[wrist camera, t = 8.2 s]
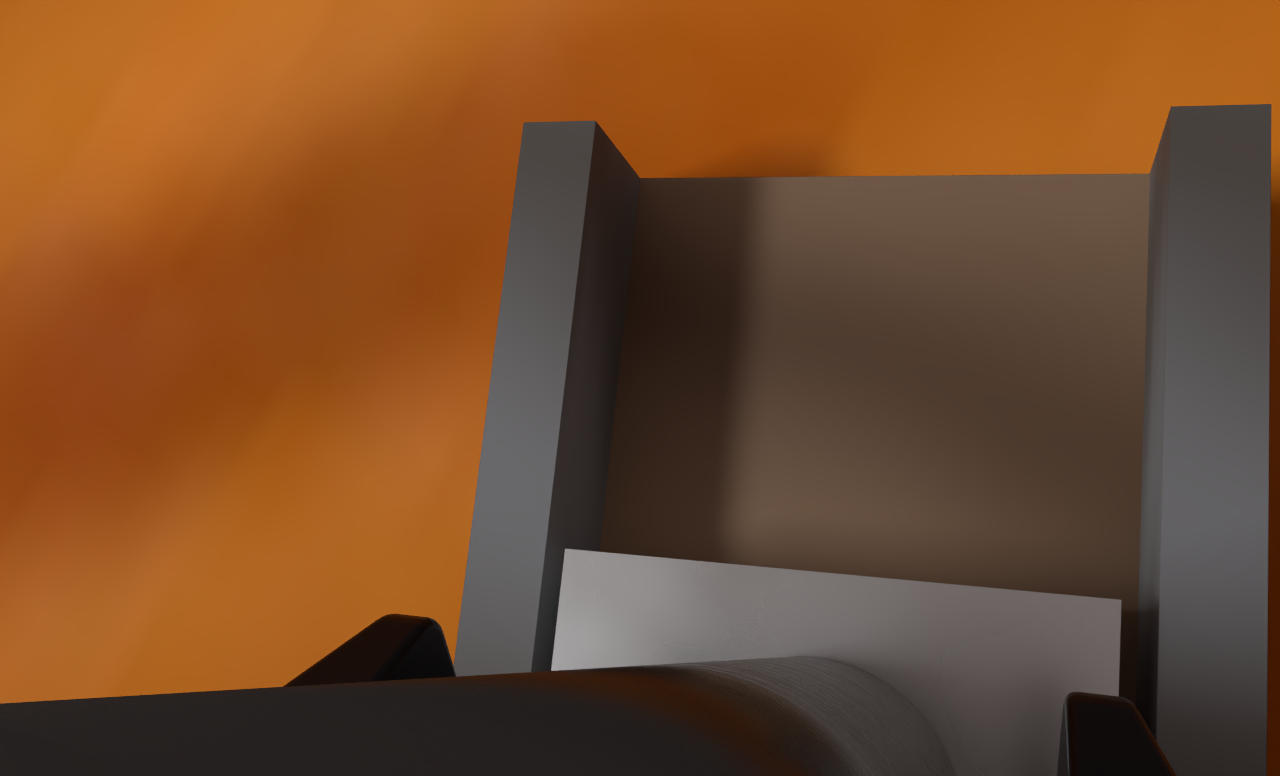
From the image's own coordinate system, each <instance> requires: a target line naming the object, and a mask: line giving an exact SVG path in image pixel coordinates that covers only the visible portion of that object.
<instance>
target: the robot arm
mask: <svg viewBox="0 0 1280 776" xmlns="http://www.w3.org/2000/svg"><path fill="white" fill-rule="evenodd" d="M441 677H456V673H455V670H454V667H453V663H452V660H451V657H450V653H449V650H448V647H447V643H446V640H445V637H444V634H443V631H442V629H441V626H440V625H439V624H438V623H437V622H436V621H435V620H434V619H431V618H428V617H419V616H410V615H402V614H389V615H386V616H383V617H381V618H380V619H378V620H376V621H375V622H374V623H372V624H371V625H369V626H368V627H366V628H365V629H364V630H362V631H361V632H359V633H358V634H357V635H355V636H354V637H352V638H351V639H349V640H348V641H347V642H345V643H344V644H342V645H341V646H340V647H338V648H337V649H335V650H334V651H333V652H331V653H330V654H328V655H327V656H325V657H324V658H323V659H321V660H320V661H318V662H317V663H316V664H314V665H313V666H311V667H310V668H308V669H307V670H306V671H304V672H303V673H301V674H300V675H299V676H297V677H296V678H294V679H293V680H292V681H290V682H289V683H287V684H286V685H284V686H283V687H290V686H307V685H324V684H340V683H357V682H374V681H391V680H408V679H424V678H441ZM1057 776H1177V775H1176V774H1175V772H1174V770H1173V769H1172V767H1171V765H1170V764H1169V762H1168V760H1167V758H1166V757H1165V755H1164V753H1163V752H1162V750H1161V748H1160V747H1159V745H1158V743H1157V741H1156V740H1155V738H1154V736H1153V735H1152V733H1151V731H1150V730H1149V728H1148V726H1147V724H1146V723H1145V721H1144V719H1143V718H1142V716H1141V714H1140V713H1139V711H1138V710H1137V708H1136V707H1135V705H1134V704H1133V703H1132V702H1131V701H1129V700H1128V699H1126V698H1124V697H1119V696H1111V695H1102V694H1093V693H1085V692H1072V693H1069V694H1068V695H1067V696H1066V697H1065V699H1064V703H1063V711H1062V722H1061V733H1060V744H1059V756H1058V767H1057Z"/></svg>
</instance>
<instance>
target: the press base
mask: <svg viewBox="0 0 1280 776" xmlns="http://www.w3.org/2000/svg"><path fill="white" fill-rule="evenodd" d="M1270 219H1271V104H1259V105H1218V106H1177V107H1171V109H1170V112H1169V115H1168V118H1167V121H1166V125H1165V128H1164V131H1163V134H1162V137H1161V140H1160V144H1159V147H1158V150H1157V153H1156V156H1155V159H1154V162H1153V166H1152V169H1151V172H1150V174H1064V175H952V176H841V177H729V178H639V176H638V175H637V174H636V172H635V171H634V170H633V168H632V167H631V166H630V165H629V163H628V162H627V161H626V159H625V158H624V157H623V156H622V154H621V153H620V152H619V150H618V149H617V148H616V147H615V145H614V144H613V143H612V141H611V140H610V139H609V137H608V136H607V135H606V134H605V132H604V131H603V130H602V128H601V127H600V126H599V125H598V123H597V122H596V121H568V122H527V123H524V125H523V133H522V140H521V148H520V156H519V164H518V171H517V179H516V187H515V195H514V202H513V210H512V218H511V226H510V233H509V241H508V249H507V257H506V264H505V272H504V280H503V288H502V295H501V303H500V311H499V319H498V326H497V334H496V342H495V350H494V358H493V365H492V373H491V381H490V389H489V396H488V404H487V412H486V420H485V427H484V435H483V443H482V451H481V458H480V466H479V474H478V482H477V489H476V497H475V505H474V513H473V520H472V528H471V536H470V544H469V551H468V559H467V567H466V575H465V582H464V590H463V598H462V606H461V613H460V621H459V629H458V637H457V644H456V652H455V660H454V670H455V673H456V677H458V676H475V675H491V674H508V673H525V672H542V671H551V667H552V658H553V650H554V641H555V632H556V623H557V615H558V606H559V597H560V588H561V580H562V571H563V562H564V553H565V549H574V550H585V551H596V552H607V553H618V554H628V555H639V556H650V557H661V558H672V559H683V560H694V561H705V562H715V563H726V564H737V565H748V566H759V567H770V568H781V569H792V570H802V571H813V572H824V573H835V574H846V575H857V576H868V577H879V578H889V579H900V580H911V581H922V582H933V583H944V584H955V585H966V586H977V587H987V588H998V589H1009V590H1020V591H1031V592H1042V593H1053V594H1064V595H1074V596H1085V597H1096V598H1107V599H1118V600H1121V631H1120V666H1119V697H1124V698H1126V699H1128V700H1129V701H1131V702H1132V703H1133V704H1134V705H1135V707H1136V708H1137V710H1138V711H1139V713H1140V714H1141V716H1142V718H1143V719H1144V721H1145V723H1146V724H1147V726H1148V728H1149V730H1150V731H1151V733H1152V735H1153V736H1154V738H1155V740H1156V741H1157V743H1158V745H1159V747H1160V748H1161V750H1162V752H1163V753H1164V755H1165V757H1166V758H1167V760H1168V762H1169V764H1170V765H1171V767H1172V769H1173V770H1174V772H1175V774H1176V775H1177V776H1267V647H1268V504H1269V362H1270Z"/></svg>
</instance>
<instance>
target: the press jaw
mask: <svg viewBox="0 0 1280 776" xmlns="http://www.w3.org/2000/svg"><path fill="white" fill-rule="evenodd" d="M1120 631H1121V600H1118V599H1107V598H1096V597H1085V596H1074V595H1064V594H1053V593H1042V592H1031V591H1020V590H1009V589H998V588H987V587H977V586H966V585H955V584H944V583H933V582H922V581H911V580H900V579H889V578H879V577H868V576H857V575H846V574H835V573H824V572H813V571H802V570H792V569H781V568H770V567H759V566H748V565H737V564H726V563H715V562H705V561H694V560H683V559H672V558H661V557H650V556H639V555H628V554H618V553H607V552H596V551H585V550H574V549H565V553H564V562H563V571H562V580H561V588H560V597H559V606H558V615H557V623H556V632H555V641H554V650H553V658H552V667H551V671H542V672H525V673H508V674H491V675H475V676H458V677H441V678H424V679H408V680H391V681H374V682H357V683H340V684H324V685H307V686H290V687H273V688H257V689H240V690H223V691H206V692H189V693H173V694H156V695H139V696H122V697H106V698H89V699H72V700H55V701H38V702H22V703H5V704H0V776H1057V767H1058V756H1059V744H1060V733H1061V722H1062V711H1063V703H1064V699H1065V697H1066V696H1067V695H1068V694H1069V693H1072V692H1085V693H1093V694H1102V695H1111V696H1119V666H1120Z"/></svg>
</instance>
